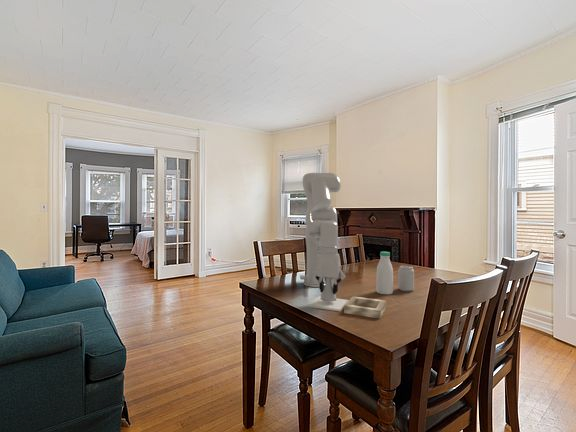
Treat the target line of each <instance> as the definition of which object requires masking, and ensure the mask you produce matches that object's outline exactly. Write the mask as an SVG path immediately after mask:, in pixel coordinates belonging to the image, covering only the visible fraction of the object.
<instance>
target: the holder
mask: <svg viewBox="0 0 576 432" xmlns="http://www.w3.org/2000/svg"><path fill="white" fill-rule="evenodd" d="M348 300H349V301H348V302H347V303H346V304H345V305H344V307H343V314H349V315H355V316H361V317H367V318H375V319H380V320H381V318H382V316H383V315H384V312H385V310H386V308H387V300H383V299H378V298H370V297H369V298H368V297H360V296H351V297H350V298H349V299H348Z"/></svg>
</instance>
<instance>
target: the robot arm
mask: <svg viewBox="0 0 576 432" xmlns="http://www.w3.org/2000/svg"><path fill="white" fill-rule="evenodd" d="M302 186H303V191H304V193H305V197H306V207H307V208H306V214H305V227H306V229H305V230H304V231H305V232H304V237H305V244H306V274H305V275H303V274H302V275H299V276H300V277H299V279H300V280H302V281H303V280H304V281H303V285H304V286H306V287H311V288H319V290H320V291H319V292H320V293H323V290H324V287H325V282H326V280H325V277H327V278H332V280H333V284H332V286H333V294H335V295H336V293H337V292H338V291H339V283H340V282H342V281H343V280H344V279H345V278H347V276H346V275H345V274H344V272H343V271H342V265H341V257H340V253H339V252H338V250H339V249H338V248H339V246H338V244H339V243H338V242H339V226H338V225H339V224H338V211H337V210H336V208H335V206H331V204H332V199H331V193H338V192H339V191H341V187H342V186H341V179H340V177H339V176H338V175H337V174H335V173H333V172H308V173H305V174H304V175H303V176H302Z"/></svg>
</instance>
